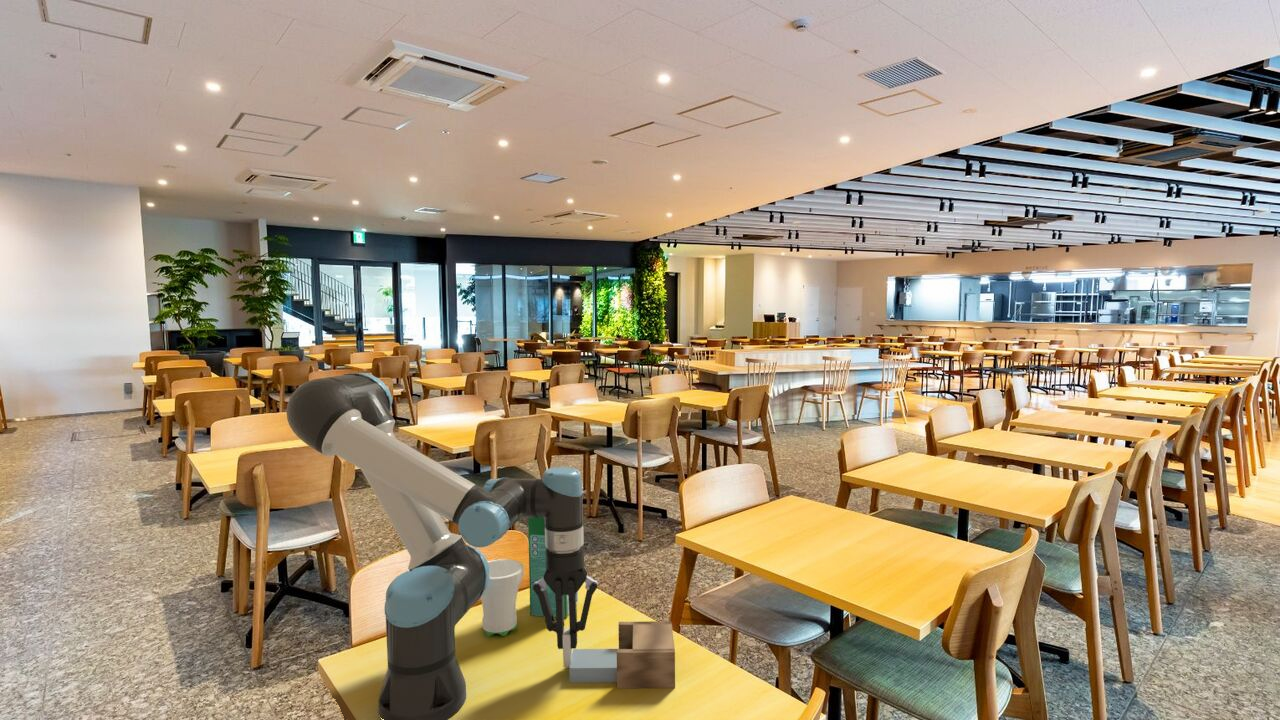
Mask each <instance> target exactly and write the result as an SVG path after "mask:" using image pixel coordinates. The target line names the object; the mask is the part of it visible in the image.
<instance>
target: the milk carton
mask: <svg viewBox="0 0 1280 720" xmlns="http://www.w3.org/2000/svg"><path fill="white" fill-rule="evenodd" d="M527 519H528V520H527V521H528V523H527V524H528V525H527V526H528V527H527V528H528V529H527V530H528V533H527V534H528V565H529V566H528V567H529V568H528V569H529V570H528V571H529V572H528V574H529V578H528V579H529V615H530V616H533V615H535V616H534V617H544V615H543V611H542V608H541V604H540V601H539V597H538V595H537V594H536V593H535V591H534V590H533V585H534V583H535V581H536V580H540V579H542V578H543V577H544V574H545V572H546V552H545V551H546V549H547V548H546V546H545V520H544V518H527ZM546 591H547V595H548V598H549V602H550V606H551V609H552V613H553V616H554V618H555V617H556V601H555V593H554V592H553V591H552V590H551V588H550V587H549V586H548V585H547V583H546ZM563 598H564V619H567V618H568V617H569V599H568V595H566V594H565V595H563ZM577 601H578V592H577V593H576V602H577ZM577 603H578V602H577ZM567 616H568V617H567Z"/></svg>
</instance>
